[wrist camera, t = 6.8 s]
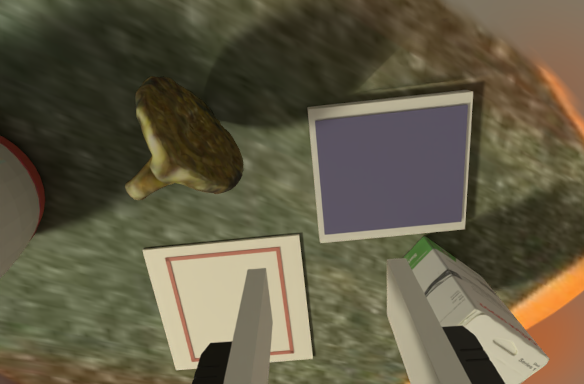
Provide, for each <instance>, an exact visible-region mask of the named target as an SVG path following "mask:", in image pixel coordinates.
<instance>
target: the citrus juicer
mask: <svg viewBox="0 0 584 384" xmlns="http://www.w3.org/2000/svg"><path fill="white" fill-rule="evenodd" d="M44 205H45V193H44V187H43V184H42V180H41V177H40V176H39V174H38V172H37V170H36V168H35V166H34V165H33V163H32V162H31V161H30V160H29V158H28V157H27V156H26V155H25V154H24V153H23V152H22V151H21V150H20V149H19V148H18V147H17V146H16V145H14V144H13V143H11V142H10V141H9V140H7V139H6V138H4V137H2V136H0V277H2V276H3V275H4V274H5V273H6V272H7V271H8V270H9V268H10V267H11V266H12V265H13V263H14V262H15V261H16V260H17V258H18V257H19V256H20V254H21V253H22V252H23V250H24V249H25V248H26V246H27V244H28V243H29V241H30V240H31V239H32V237H33V236H34V235H35V233H36V231H37V228H38V225H39V223H40V220H41V218H42V215H43V212H44Z"/></svg>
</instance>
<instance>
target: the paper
mask: <svg viewBox="0 0 584 384" xmlns="http://www.w3.org/2000/svg"><path fill="white" fill-rule="evenodd" d="M142 251H143V254H144V258H145V261H146V265H147V268H148V272H149V275H150V279H151V283H152V286H153V290H154V293H155V297H156V300H157V304H158V307H159V311H160V315H161V318H162V322H163V325H164V329H165V332H166V336H167V339H168V343H169V347H170V350H171V354H172V357H173V361H174V364H175V368H176V370H183V369H195V368H197V366H198V362H199V359H200V356H201V354H202V352H203V351H204V350H205V349H206V348H207V346H208V345H209V344H210V343H215V342H230V341H233V336H234V331H235V327H236V322H237V317H238V313H239V308H240V303H241V299H242V294H243V289H244V284H245V280H246V275H247V270H248V269H260V268H266V272H267V280H268V288H269V296H270V304H271V312H272V320H273V326H272V338H271V351H270V362H279V361H291V360H302V359H313V353H312V345H311V336H310V327H309V318H308V309H307V300H306V291H305V283H304V274H303V265H302V256H301V247H300V238H299V234H292V235H282V236H271V237H261V238H251V239H240V240H230V241H219V242H209V243H199V244H188V245H178V246H167V247H157V248H147V249H143V250H142Z"/></svg>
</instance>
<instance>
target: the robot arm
mask: <svg viewBox="0 0 584 384" xmlns="http://www.w3.org/2000/svg"><path fill="white" fill-rule="evenodd" d="M387 316H388V319H389V322H390V325H391V327H392V330H393V333H394V336H395V339H396V342H397V345H398V348H399V351H400V354H401V357H402V359H403V362H404V365H405V368H406V371H407V374H408V377H409V380H410V383H411V384H505V382H504V381H503V379H502V378H501V376H500V374H499V373H498V371H497V370H496V368H495V366H494V365H493V363H492V362H491V361H490V359H489V357H488V355H487V354H486V352H485V350H483V347H482V345H481V344H480V342H479V341H478V339H477V337H476V336H475V335H474V334H473V333H471V332H470V331H469V330H468V329H466V328H465V327H464V326H463V325H462V326H447V327H442V326H441V325H440V323H439V321H438V319H437V317H436V315H435V313H434V311H433V309H432V307H431V305H430V304H429V302H428V300H427V298H426V296H425V294H424V292H423V290H422V288H421V286H420V284H419V283H418V281H417V279H416V277H415V275H414V273H413V271H412V269H411V267H410V265H409V263H408V261H407V260H406V258H400V259H387ZM272 326H273V320H272V312H271V304H270V296H269V288H268V280H267V272H266V268H260V269H248V270H247V275H246V280H245V284H244V289H243V294H242V299H241V303H240V308H239V313H238V317H237V322H236V327H235V331H234V336H233V341H230V342H215V343H210V344H209V345H208V346H207V348H206V349H205V350H204V351H203V352H202V354H201V356H200V359H199V362H198V366H197V369H196V372H195V376H194V380H193V382H192V384H268V375H269V363H270V351H271V338H272Z"/></svg>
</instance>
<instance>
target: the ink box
mask: <svg viewBox="0 0 584 384" xmlns="http://www.w3.org/2000/svg"><path fill="white" fill-rule="evenodd" d="M404 258H406V260H407V261H408V263H409V265H410V267H411V269H412V271H413V273H414V275H415V277H416V279H417V281H418V283H419V284H420V286H421V288H422V290H423V292H424V294H425V296H426V298H427V300H428V302H429V304H430V305H431V307H432V309H433V311H434V313H435V315H436V317H437V319H438V321H439V323H440V325H441V326H442V327H447V326H462V325H463V326H464V327H465V328H466V329H468V330H469V331H470V332H471V333H473V334H474V335H475V336H476V337H477V339H478V341H479V342H480V344H481V345H482V347H483V350H485V352H486V354H487V355H488V357H489V359H490V361H491V362H492V363H493V365H494V366H495V368H496V370H497V371H498V373H499V374H500V376H501V378H502V379H503V381H504V382H505V384H520V383H522V382H523V381H525V380H526V379H527V378H528V377H529V376H531V375H532V374H534V373H535V372H537V371H538V370H539V369H541V368H542V367H544V366H545V365H546V364H547V362H548V360H549V358H548V356H547V355H546V354H545V353H544V352H543V351H542V349H541V348H540V347H539V346H538V345H537V343H536V342H535V341H534V340H533V339H532V337H531V336H530V335H529V334H528V333H527V331H526V330H525V329H524V328H523V326H522V325H521V324H520V323H519V322H518V320H517V319H516V318H515V317H514V315H513V314H512V313H511V312H510V310H509V309H508V308H507V307H506V306H505V304H504V303H503V302H502V301H501V299H500V298H499V297H498V296H497V295H496V293H495V292H494V291H493V290H492V288H491V287H490V286H489V285H488V284H487V282H486V281H485V280H484V279H483V278H482V276H480V275H479V274H478V273H476V272H475V271H473V270H472V269H471V268H469V267H468V266H466V265H465V264H464V263H462V262H461V261H459V260H458V259H457V258H455V257H454V256H452V255H451V254H450V253H448V252H447V251H445V250H444V249H443V248H441V247H440V246H438V245H437V244H436V243H434V242H433V241H432V240H430V239H429V238H427V237H425V236H424V237H422V239H421V240H420V241H419V242H418V243H417V244H416V245H415V246H414V247H413V248H412V249H411V250H410V251H409V252H408V253H407V254H406V256H405V257H404Z"/></svg>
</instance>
